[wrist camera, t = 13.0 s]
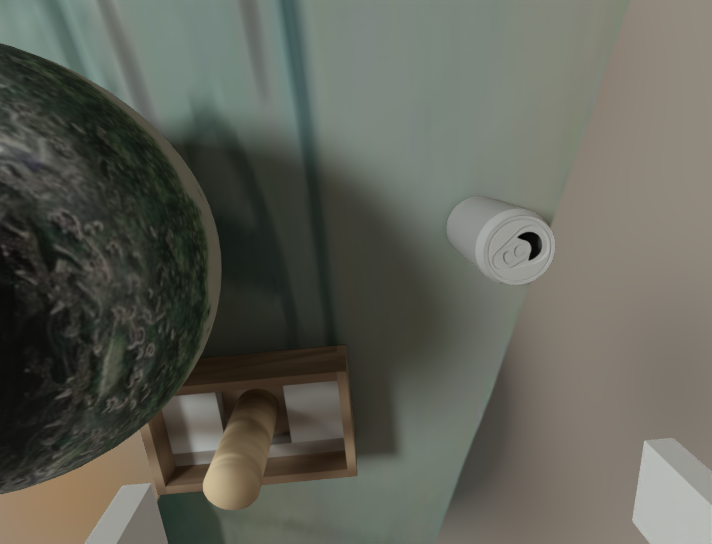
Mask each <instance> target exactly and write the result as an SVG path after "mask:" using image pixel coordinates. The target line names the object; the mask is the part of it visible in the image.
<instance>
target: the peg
mask: <svg viewBox="0 0 712 544" xmlns="http://www.w3.org/2000/svg"><path fill="white" fill-rule="evenodd" d="M278 414H279V403H278V400H277V399H276V397H275V396H274V395H273V394H272V393H270V392H269V391H266V390H263V389H251V390H248V391H246V392H244V393H243V394H242V395H241V396H240V397H239V399H238V401H237V403H236V405H235V408H234V410H233V412H232V415H231V417H230V419H229V422H228V424H227V427H226V429H225V431H224V434H223V436H222V438H221V441H220V443H219V445H218V448H217V450H216V452H215V455H214V457H213V460H212V462H211V464H210V467H209V469H208V471H207V474H206V476H205V478H204V481H203V491H204V494H205V496H206V497H207V499H208V500H209V501H210V502H211V503H212V504H214V505H215V506H217V507H220V508H222V509H227V510H239V509H243V508H246V507H248V506H249V505H251V504H252V503H253V502H254V501H255V500H256V499H257V497H258V495H259V491H260V487H261V483H262V479H263V475H264V471H265V467H266V462H267V458H268V454H269V450H270V446H271V442H272V438H273V434H274V430H275V426H276V422H277V418H278Z"/></svg>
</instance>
